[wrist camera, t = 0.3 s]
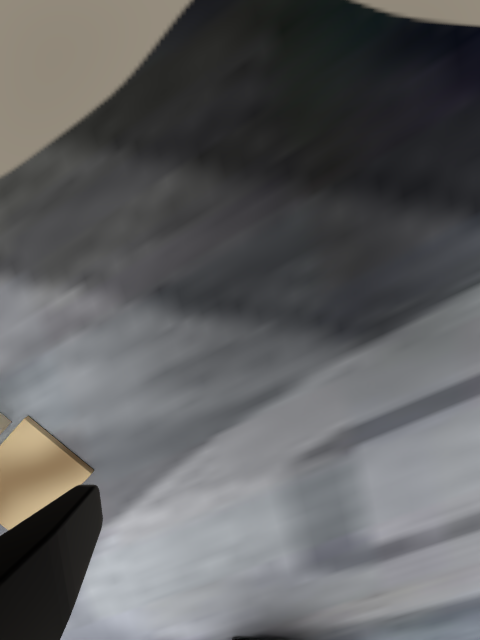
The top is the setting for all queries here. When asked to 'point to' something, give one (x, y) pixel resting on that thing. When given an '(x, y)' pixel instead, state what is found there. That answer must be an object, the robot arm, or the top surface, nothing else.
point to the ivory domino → (3, 423)
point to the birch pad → (35, 472)
